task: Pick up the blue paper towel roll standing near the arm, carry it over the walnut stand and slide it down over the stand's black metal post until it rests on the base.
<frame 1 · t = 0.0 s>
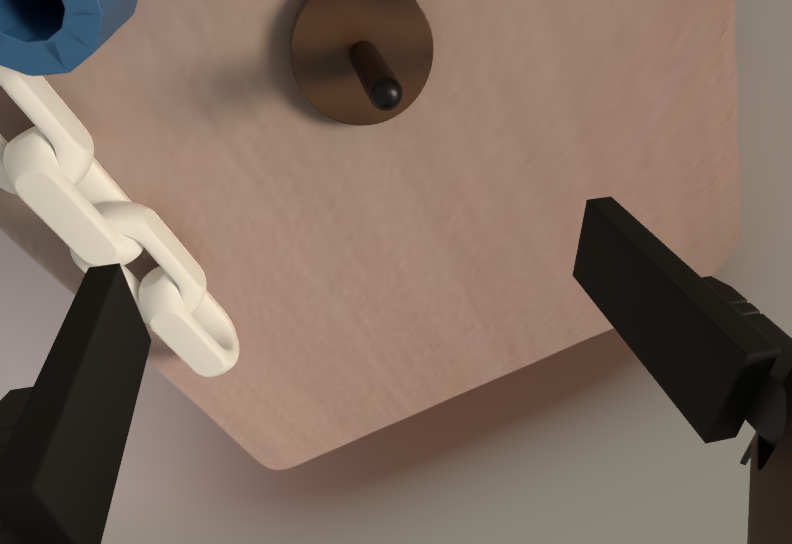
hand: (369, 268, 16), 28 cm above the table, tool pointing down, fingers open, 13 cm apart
stand post: (374, 74, 34), on the stand base, point 6 cm above the table
stand base: (360, 50, 39), on the table
chain: (122, 212, 43), on the table
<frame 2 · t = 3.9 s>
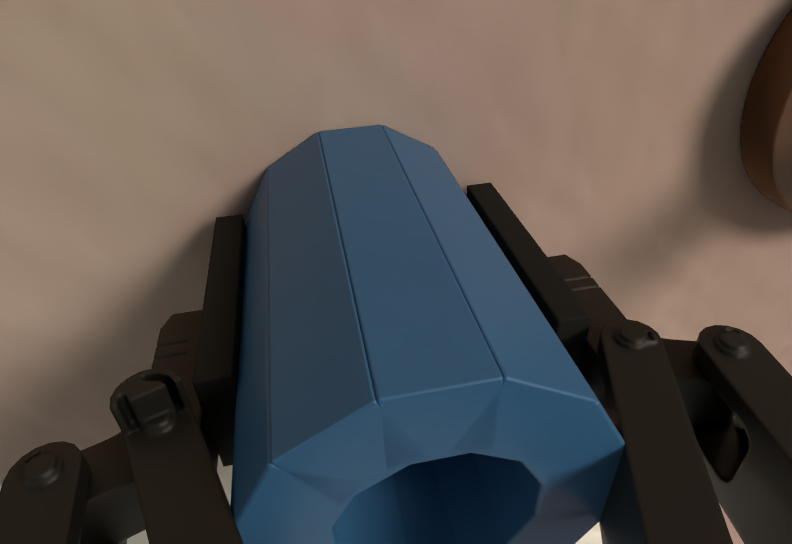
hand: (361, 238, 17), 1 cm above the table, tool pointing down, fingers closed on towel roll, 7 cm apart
towel roll: (359, 229, 17), on the table, touching gripper
chain: (498, 476, 27), on the table
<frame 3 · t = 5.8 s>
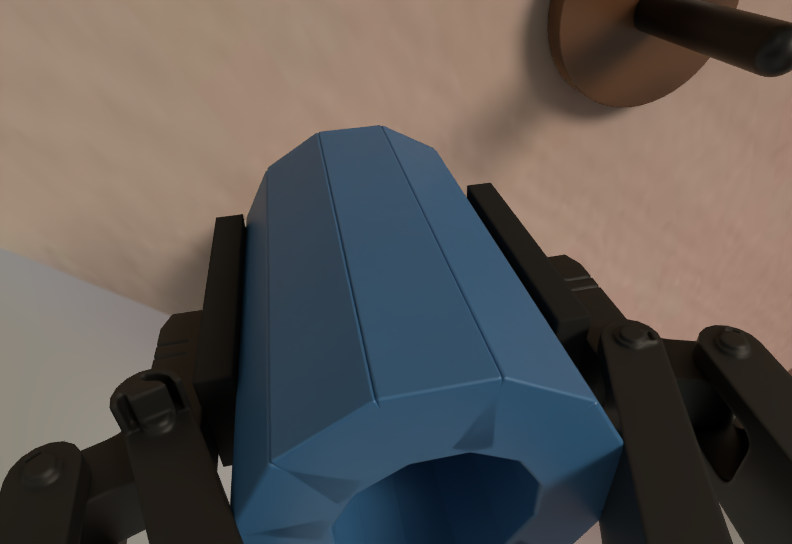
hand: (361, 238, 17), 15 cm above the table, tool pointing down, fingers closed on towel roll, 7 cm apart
stand post: (712, 30, 24), on the stand base, point 6 cm above the table
towel roll: (359, 230, 17), point 14 cm above the table, touching gripper
stand base: (635, 6, 29), on the table
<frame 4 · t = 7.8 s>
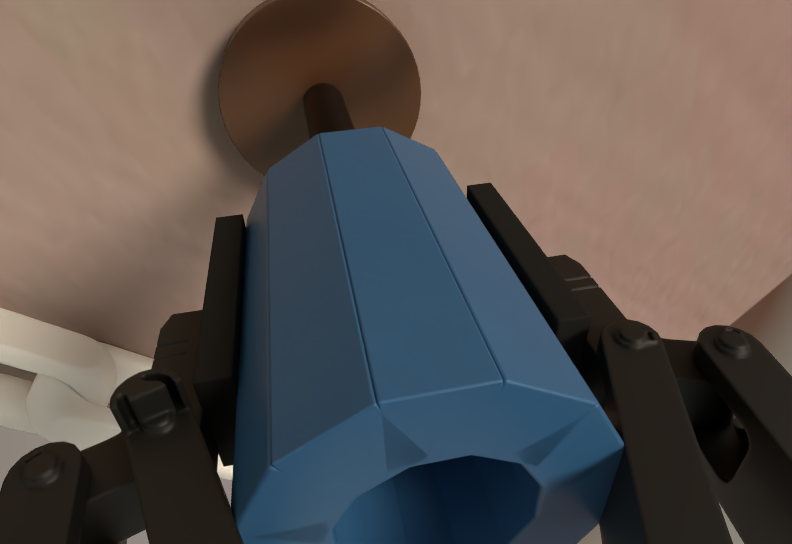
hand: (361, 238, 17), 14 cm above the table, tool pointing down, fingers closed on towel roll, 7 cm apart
stand post: (333, 138, 23), on the stand base, point 6 cm above the table
towel roll: (359, 231, 17), point 14 cm above the table, touching gripper
stand base: (321, 93, 28), on the table
chain: (184, 381, 38), on the table
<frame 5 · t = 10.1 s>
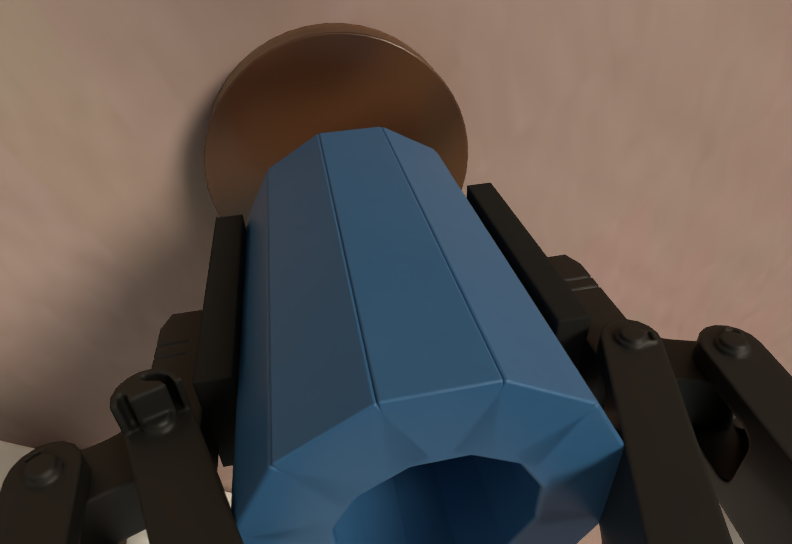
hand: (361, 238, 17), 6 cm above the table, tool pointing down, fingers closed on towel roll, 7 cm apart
towel roll: (359, 231, 17), point 6 cm above the table, touching gripper
stand base: (338, 156, 22), on the table
chain: (168, 482, 32), on the table
when the fingers open (2 cm above the table, at t = 11.7 s): towel roll stays where it is, resting on stand base.
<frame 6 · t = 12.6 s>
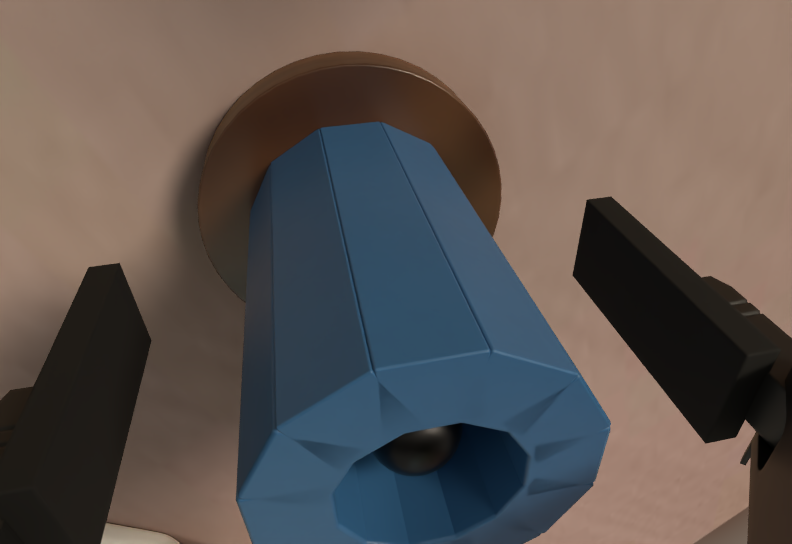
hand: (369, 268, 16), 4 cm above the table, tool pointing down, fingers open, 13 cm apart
stand post: (382, 310, 14), on the stand base, point 6 cm above the table
towel roll: (358, 223, 18), point 1 cm above the table, touching stand base
stand base: (351, 199, 19), on the table
chain: (161, 543, 29), on the table
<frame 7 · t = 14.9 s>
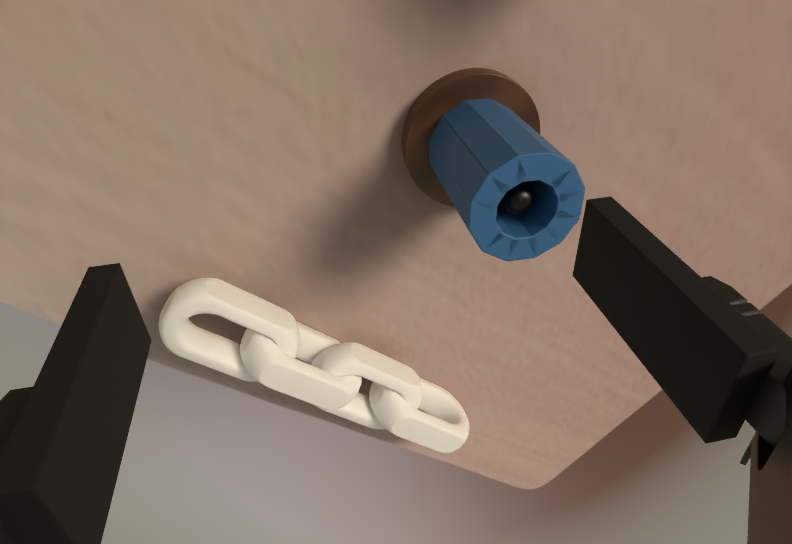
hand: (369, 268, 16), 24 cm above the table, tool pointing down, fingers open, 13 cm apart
stand post: (496, 171, 35), on the stand base, point 6 cm above the table
towel roll: (474, 146, 39), point 1 cm above the table, touching stand base
stand base: (468, 137, 40), on the table
chain: (332, 349, 49), on the table
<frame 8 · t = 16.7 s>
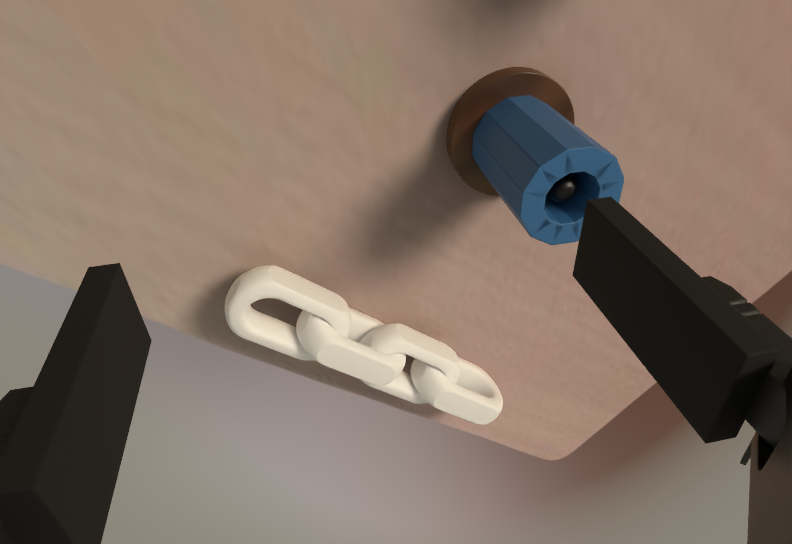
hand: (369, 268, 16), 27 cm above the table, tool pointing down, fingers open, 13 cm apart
stand post: (538, 163, 38), on the stand base, point 6 cm above the table
towel roll: (514, 139, 42), point 1 cm above the table, touching stand base
stand base: (507, 131, 43), on the table
chain: (375, 330, 53), on the table
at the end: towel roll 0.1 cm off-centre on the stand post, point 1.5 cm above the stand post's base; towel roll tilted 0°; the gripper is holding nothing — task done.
